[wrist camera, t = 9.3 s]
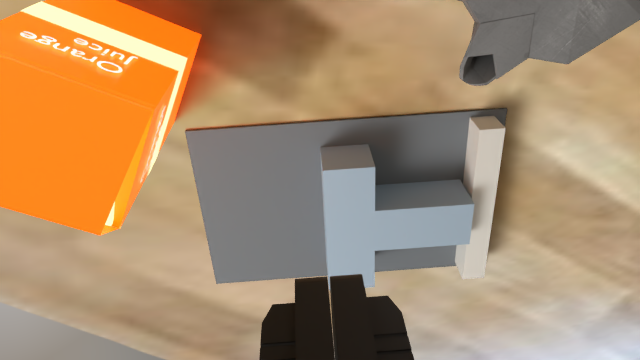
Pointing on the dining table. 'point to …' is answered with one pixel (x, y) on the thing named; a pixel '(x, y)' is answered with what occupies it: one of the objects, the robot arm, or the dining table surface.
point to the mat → (312, 187)
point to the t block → (384, 213)
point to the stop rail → (480, 191)
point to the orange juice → (86, 107)
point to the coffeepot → (538, 32)
